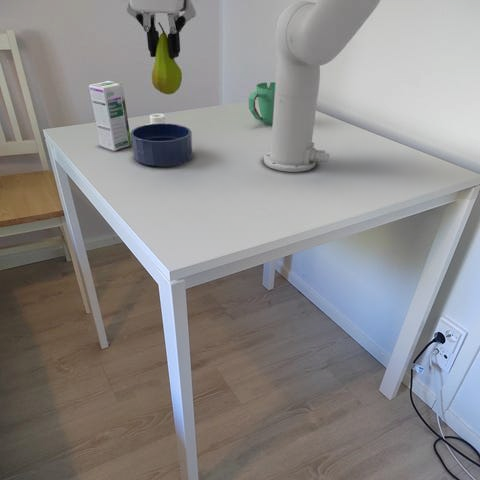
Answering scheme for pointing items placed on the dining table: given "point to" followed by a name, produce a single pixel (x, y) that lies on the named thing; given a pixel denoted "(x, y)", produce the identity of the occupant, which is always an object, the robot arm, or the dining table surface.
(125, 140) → the syrup box
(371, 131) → the dining table surface
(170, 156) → the bowl
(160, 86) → the fruit
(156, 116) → the candle holder
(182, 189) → the dining table surface
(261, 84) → the mug
